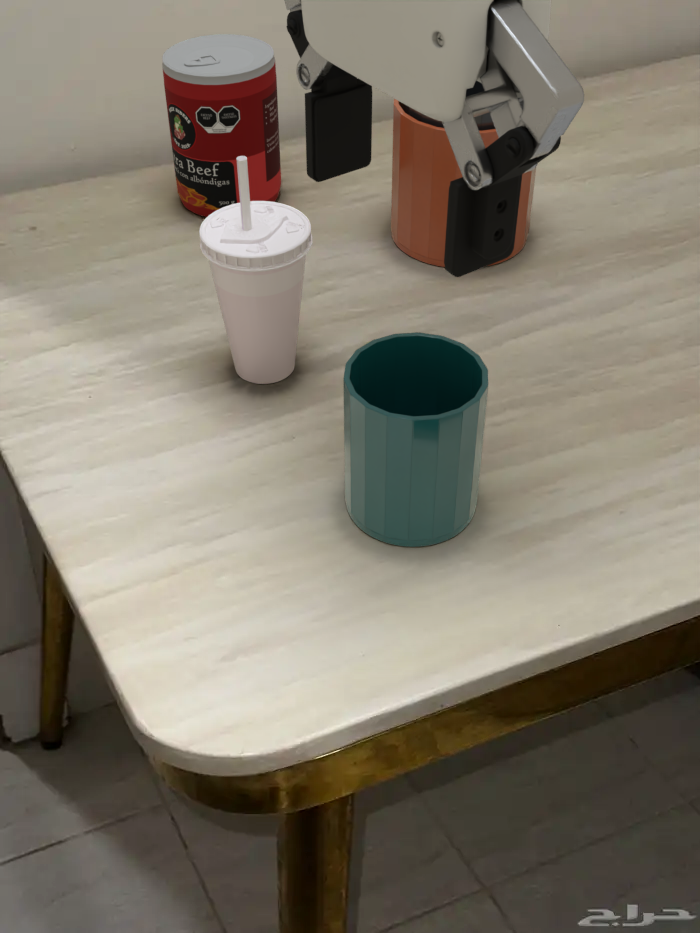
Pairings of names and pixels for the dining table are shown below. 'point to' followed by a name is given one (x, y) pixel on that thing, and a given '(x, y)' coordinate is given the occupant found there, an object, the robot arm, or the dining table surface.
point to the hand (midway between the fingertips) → (404, 215)
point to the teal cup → (413, 437)
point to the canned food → (222, 119)
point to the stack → (434, 188)
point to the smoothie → (258, 279)
